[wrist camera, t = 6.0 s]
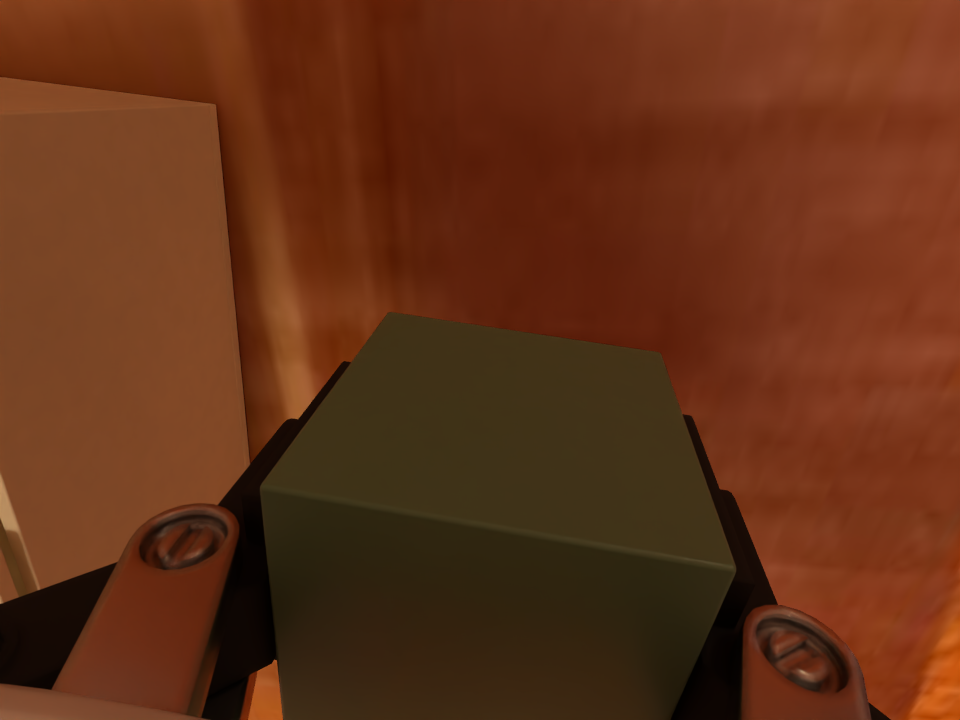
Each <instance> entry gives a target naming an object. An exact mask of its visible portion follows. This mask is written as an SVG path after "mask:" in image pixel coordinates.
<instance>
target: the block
mask: <svg viewBox="0 0 960 720" xmlns="http://www.w3.org/2000/svg"><path fill="white" fill-rule="evenodd" d="M260 496H261V505H262V515H263V525H264V535H265V545H266V555H267V565H268V575H269V585H270V595H271V605H272V614H273V624H274V634H275V644H276V654H277V664H278V674H279V684H280V694H281V704H282V714H283V720H671V717H672V715H673V713H674V711H675V708H676V706H677V704H678V702H679V699H680V697H681V695H682V693H683V690H684V688H685V686H686V684H687V681H688V679H689V677H690V675H691V672H692V670H693V668H694V666H695V663H696V661H697V659H698V657H699V654H700V652H701V650H702V648H703V645H704V643H705V641H706V639H707V636H708V634H709V632H710V630H711V627H712V625H713V623H714V621H715V618H716V616H717V614H718V612H719V609H720V607H721V605H722V603H723V600H724V598H725V596H726V594H727V591H728V589H729V587H730V585H731V582H732V580H733V578H734V576H735V573H736V565H735V563H734V560H733V557H732V554H731V551H730V548H729V545H728V543H727V540H726V537H725V534H724V531H723V528H722V526H721V523H720V520H719V517H718V514H717V511H716V509H715V506H714V503H713V500H712V497H711V494H710V491H709V489H708V486H707V483H706V480H705V477H704V474H703V472H702V469H701V466H700V463H699V460H698V457H697V455H696V452H695V449H694V446H693V443H692V440H691V437H690V435H689V432H688V429H687V426H686V423H685V420H684V418H683V415H682V412H681V409H680V406H679V403H678V401H677V398H676V395H675V392H674V389H673V386H672V383H671V381H670V378H669V375H668V372H667V369H666V366H665V364H664V361H663V358H662V355H661V353H659V352H654V351H647V350H641V349H634V348H627V347H620V346H614V345H607V344H600V343H594V342H587V341H580V340H574V339H567V338H560V337H554V336H547V335H540V334H534V333H527V332H520V331H514V330H507V329H500V328H493V327H487V326H480V325H473V324H467V323H460V322H453V321H447V320H440V319H433V318H427V317H420V316H413V315H407V314H400V313H393V312H389V313H387V315H386V316H385V317H384V319H383V320H382V322H381V323H380V324H379V326H378V327H377V328H376V330H375V331H374V332H373V334H372V335H371V336H370V338H369V339H368V340H367V342H366V343H365V345H364V346H363V347H362V349H361V350H360V351H359V353H358V354H357V355H356V357H355V358H354V359H353V361H352V362H351V363H350V365H349V366H348V368H347V369H346V370H345V372H344V373H343V374H342V376H341V377H340V378H339V380H338V381H337V382H336V384H335V385H334V386H333V388H332V389H331V391H330V392H329V393H328V395H327V396H326V397H325V399H324V400H323V401H322V403H321V404H320V405H319V407H318V408H317V409H316V411H315V412H314V414H313V415H312V416H311V418H310V419H309V420H308V422H307V423H306V424H305V426H304V427H303V428H302V430H301V431H300V432H299V434H298V435H297V437H296V438H295V439H294V441H293V442H292V443H291V445H290V446H289V447H288V449H287V450H286V451H285V453H284V454H283V455H282V457H281V458H280V459H279V461H278V462H277V464H276V465H275V466H274V468H273V469H272V470H271V472H270V473H269V474H268V476H267V477H266V478H265V480H264V481H263V482H262V484H261V486H260Z"/></svg>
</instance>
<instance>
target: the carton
mask: <svg viewBox="0 0 960 720" xmlns="http://www.w3.org/2000/svg"><path fill="white" fill-rule="evenodd" d="M249 465H250V458H249V447H248V437H247V426H246V416H245V405H244V395H243V384H242V374H241V363H240V353H239V342H238V332H237V321H236V311H235V300H234V290H233V279H232V269H231V258H230V248H229V237H228V227H227V216H226V206H225V195H224V185H223V174H222V164H221V153H220V142H219V132H218V121H217V111H216V105H215V104H210V103H202V102H194V101H186V100H178V99H170V98H162V97H155V96H147V95H139V94H131V93H123V92H115V91H107V90H99V89H92V88H84V87H76V86H68V85H60V84H52V83H44V82H37V81H29V80H21V79H13V78H5V77H0V604H1V603H4V602H7V601H10V600H12V599H15V598H18V597H21V596H24V595H26V594H29V593H32V592H35V591H37V590H40V589H43V588H46V587H49V586H51V585H54V584H57V583H60V582H63V581H65V580H68V579H71V578H74V577H77V576H79V575H82V574H85V573H88V572H90V571H93V570H96V569H99V568H102V567H104V566H107V565H110V564H113V563H116V562H118V560H119V558H120V557H121V555H122V553H123V551H124V549H125V547H126V545H127V543H128V541H129V540H130V538H131V537H132V535H133V534H134V533H135V531H136V530H137V529H138V528H139V527H140V526H141V525H143V524H144V523H145V522H146V521H148V520H149V519H150V518H152V517H154V516H156V515H158V514H159V513H161V512H163V511H165V510H168V509H171V508H174V507H178V506H181V505H186V504H194V503H206V504H215V505H218V504H219V502H220V501H221V500H222V499H223V498H224V496H225V495H226V494H227V493H228V491H229V490H230V489H231V488H232V486H233V485H234V484H235V483H236V481H237V480H238V479H239V478H240V476H241V475H242V474H243V473H244V471H245V470H246V469H247V468H248V466H249Z"/></svg>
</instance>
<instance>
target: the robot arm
mask: <svg viewBox="0 0 960 720" xmlns="http://www.w3.org/2000/svg"><path fill="white" fill-rule="evenodd" d="M350 363H351V362H346V361H344V362H343V363H341V365H340V366H339V367H338V369H337V370H336V371H335V372H334V374H333V375H332V376H331V378H330V379H329V380H328V382H327V383H326V384H325V385H324V387H323V388H322V389H321V391H320V392H319V393H318V395H317V396H316V397H315V398H314V400H313V401H312V402H311V404H310V405H309V406H308V408H307V409H306V410H305V411H304V413H303V414H302V415H301V417H300V418H299V419H298V420H297V419H288V420H286V421H285V422H284V423H283V424H282V425H281V427H280V428H279V429H278V430H277V432H276V433H275V434H274V435H273V437H272V438H271V439H270V440H269V442H268V443H267V444H266V445H265V447H264V448H263V449H262V450H261V452H260V453H259V454H258V455H257V457H256V458H255V459H254V460H253V461H252V463H251V464H250V465H249V466H248V468H247V469H246V470H245V471H244V473H243V474H242V475H241V476H240V478H239V479H238V480H237V481H236V483H235V484H234V485H233V486H232V488H231V489H230V490H229V491H228V493H227V494H226V495H225V496H224V498H223V499H222V500H221V501H220V502H219V504H218V505H215V504H206V503H194V504H186V505H181V506H178V507H174V508H171V509H168V510H165V511H163V512H161V513H159V514H158V515H156V516H154V517H152V518H150V519H149V520H148V521H146V522H145V523H144V524H143V525H141V526H140V527H139V528H138V529H137V530H136V531H135V533H134V534H133V535H132V537H131V538H130V540H129V541H128V543H127V545H126V547H125V549H124V551H123V553H122V555H121V557H120V558H119V560H118V562H116V563H113V564H110V565H107V566H104V567H102V568H99V569H96V570H93V571H90V572H88V573H85V574H82V575H79V576H77V577H74V578H71V579H68V580H65V581H63V582H60V583H57V584H54V585H51V586H49V587H46V588H43V589H40V590H37V591H35V592H32V593H29V594H26V595H24V596H21V597H18V598H15V599H12V600H10V601H7V602H4V603H1V604H0V720H248V716H249V711H250V706H251V701H252V696H253V691H254V686H255V682H256V677H257V671H258V670H260V669H262V668H264V667H266V666H268V665H270V664H271V663H272V662H273V660H274V659H275V660H277V654H276V644H275V634H274V624H273V614H272V605H271V595H270V585H269V575H268V565H267V555H266V545H265V535H264V525H263V515H262V505H261V496H260V486H261V484H262V482H263V481H264V480H265V478H266V477H267V476H268V474H269V473H270V472H271V470H272V469H273V468H274V466H275V465H276V464H277V462H278V461H279V459H280V458H281V457H282V455H283V454H284V453H285V451H286V450H287V449H288V447H289V446H290V445H291V443H292V442H293V441H294V439H295V438H296V437H297V435H298V434H299V432H300V431H301V430H302V428H303V427H304V426H305V424H306V423H307V422H308V420H309V419H310V418H311V416H312V415H313V414H314V412H315V411H316V409H317V408H318V407H319V405H320V404H321V403H322V401H323V400H324V399H325V397H326V396H327V395H328V393H329V392H330V391H331V389H332V388H333V386H334V385H335V384H336V382H337V381H338V380H339V378H340V377H341V376H342V374H343V373H344V372H345V370H346V369H347V368H348V366H349V365H350ZM682 415H683V418H684V420H685V423H686V426H687V429H688V432H689V435H690V437H691V440H692V443H693V446H694V449H695V452H696V455H697V457H698V460H699V463H700V466H701V469H702V472H703V474H704V477H705V480H706V483H707V486H708V489H709V491H710V494H711V497H712V500H713V503H714V506H715V509H716V511H717V514H718V517H719V520H720V523H721V526H722V528H723V531H724V534H725V537H726V540H727V543H728V545H729V548H730V551H731V554H732V557H733V560H734V563H735V565H736V573H735V576H734V578H733V580H732V582H731V585H730V587H729V589H728V591H727V594H726V596H725V598H724V600H723V603H722V605H721V607H720V609H719V612H718V614H717V616H716V618H715V621H714V623H713V625H712V627H711V630H710V632H709V634H708V636H707V639H706V641H705V643H704V645H703V648H702V650H701V652H700V654H699V657H698V659H697V661H696V663H695V666H694V668H693V670H692V672H691V675H690V677H689V679H688V681H687V684H686V686H685V688H684V690H683V693H682V695H681V697H680V699H679V702H678V704H677V706H676V708H675V711H674V713H673V715H672V717H671V720H890V719H889V718H888V717H887V716H885V715H884V714H883V713H882V712H880V711H879V710H878V709H876V708H875V707H874V706H873V705H871V704H870V703H869V702H868V699H867V693H866V688H865V683H864V677H863V674H862V671H861V668H860V666H859V663H858V660H857V659H856V657H855V656H854V654H853V653H852V651H851V650H850V649H849V647H848V646H847V644H846V643H845V642H844V641H843V640H842V639H841V638H840V637H839V636H838V635H837V634H836V633H835V632H834V631H833V630H831V629H830V628H829V627H827V626H826V625H824V624H823V623H822V622H820V621H819V620H817V619H816V618H814V617H812V616H810V615H808V614H806V613H804V612H802V611H800V610H797V609H794V608H790V607H786V606H783V605H778V604H777V601H776V599H775V596H774V594H773V591H772V589H771V587H770V584H769V582H768V579H767V577H766V574H765V572H764V569H763V567H762V564H761V562H760V559H759V557H758V554H757V552H756V549H755V547H754V545H753V542H752V540H751V537H750V535H749V532H748V530H747V527H746V525H745V522H744V520H743V517H742V515H741V512H740V510H739V507H738V505H737V502H736V500H735V498H734V496H733V495H732V493H731V492H729V491H727V490H721V489H719V486H718V484H717V481H716V478H715V476H714V473H713V470H712V468H711V465H710V462H709V460H708V457H707V454H706V452H705V449H704V446H703V444H702V441H701V438H700V436H699V433H698V430H697V428H696V425H695V422H694V420H693V418H692V416H690V415H684V414H682Z"/></svg>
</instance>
